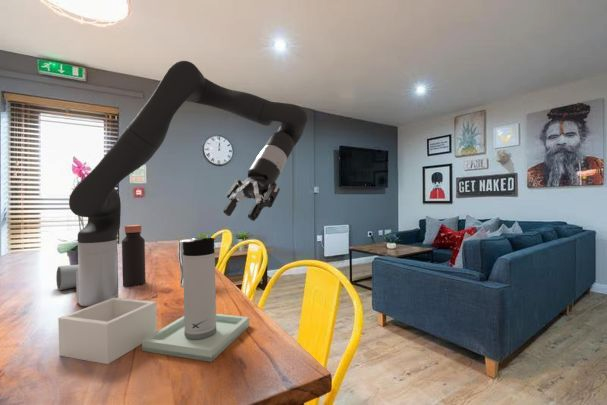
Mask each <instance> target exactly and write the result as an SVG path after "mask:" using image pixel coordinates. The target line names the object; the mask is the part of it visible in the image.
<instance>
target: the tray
mask: <svg viewBox="0 0 607 405" xmlns="http://www.w3.org/2000/svg"><path fill="white" fill-rule="evenodd" d="M249 327H250V317H249V316H241V315H231V314H222V313H216V332H215V333H214V334H213V335H211V336H210V337H207V338H204V339H198V340H192V339H188V338H186V337H185V334H184V328H185V327H184V315H183V316H181V317H179V318H177V319H176V320H174V321H173V322H171V323H169V324H168V325H166V326H164V327H163V328H161V329H159V330H157V332H155V333H154V334H152V335H150V336H149V337H147V338H145V339H144V340H142V344H141V350H142V352H146V353H147V352H148V353H153V354H159V355H160V354H161V355H167V356H172V357H180V358H184V359H190V360H191V359H193V360H198V361H204V362H210V363H212V362H213V361H215V359H216V358H217V357H219V356H220V354H222V353H223V352H224V350H226V348H228V347H229V346H230V345H231V344H232V343H233V342H234V341H236V339H238V338H239V337H240V336H241V335H242V334H243V333H244V332H245V331H246V330H247V329H248V328H249Z"/></svg>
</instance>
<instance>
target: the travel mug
mask: <svg viewBox="0 0 607 405" xmlns="http://www.w3.org/2000/svg"><path fill="white" fill-rule="evenodd" d="M183 250H184V251H183V257H184V258H183V287H182V288H183V316H184V327H185V328H184V334H185V337H186V338H188V339H192V340H198V339H204V338H207V337H210V336H211V335H213V334H214V333H215V332H216V314H217V303H216V302H217V300H216V297H217V296H216V292H217V291H216V256H215V253H216V252H215V238H214V237H207V238H201V239H199V240H194V241H193V242H183Z"/></svg>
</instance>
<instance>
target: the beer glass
mask: <svg viewBox="0 0 607 405" xmlns="http://www.w3.org/2000/svg"><path fill="white" fill-rule="evenodd" d="M194 240H200V239H199V238H185V239H179V240H178V241H177V242H178V243H177V245H178V246H177V257H178V258H177V260H178V263H179V264H178V265H179V271H180V281H179V286H180V287H181V288H183V258H184V257H183V251H184V250H183V242H193V241H194Z"/></svg>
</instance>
